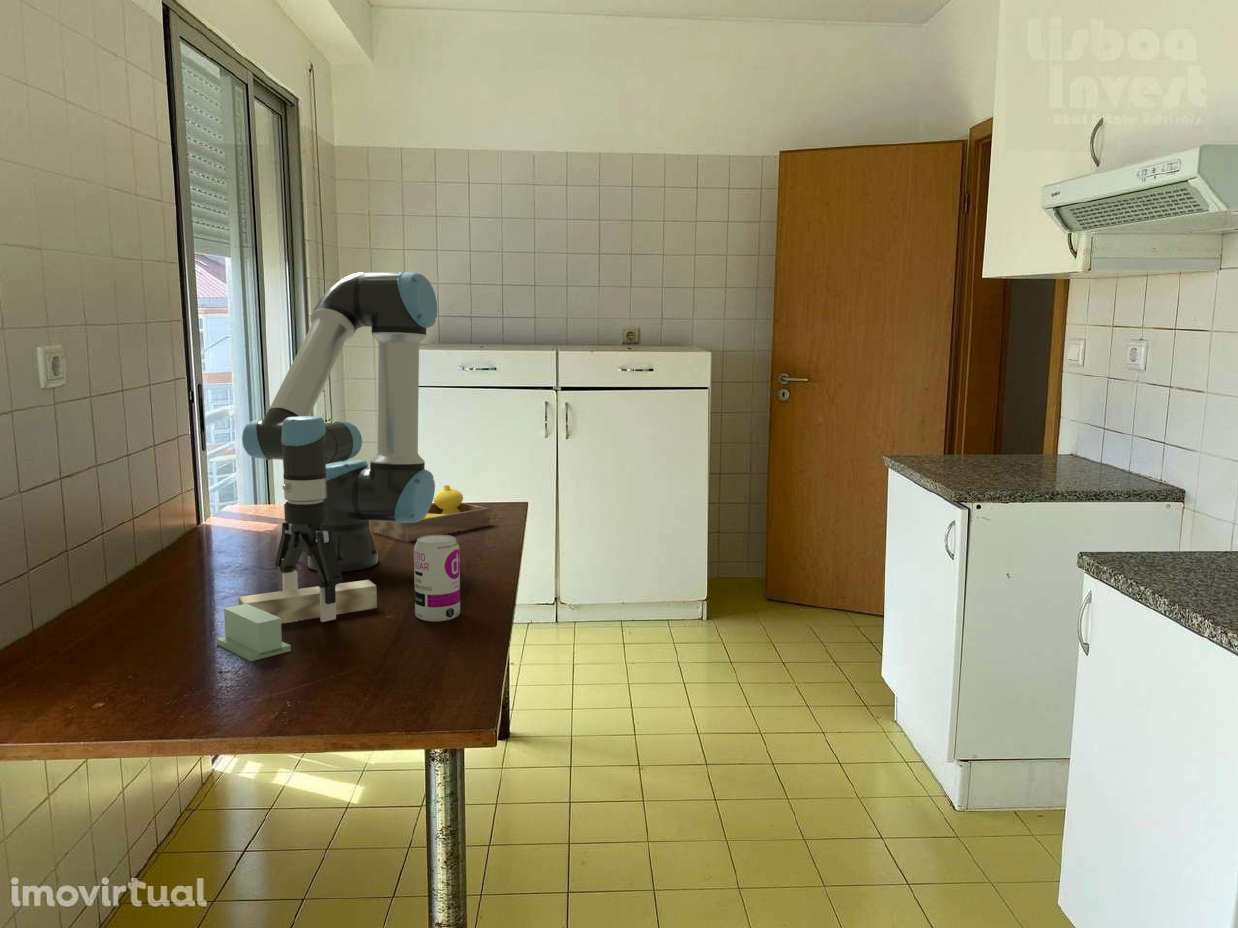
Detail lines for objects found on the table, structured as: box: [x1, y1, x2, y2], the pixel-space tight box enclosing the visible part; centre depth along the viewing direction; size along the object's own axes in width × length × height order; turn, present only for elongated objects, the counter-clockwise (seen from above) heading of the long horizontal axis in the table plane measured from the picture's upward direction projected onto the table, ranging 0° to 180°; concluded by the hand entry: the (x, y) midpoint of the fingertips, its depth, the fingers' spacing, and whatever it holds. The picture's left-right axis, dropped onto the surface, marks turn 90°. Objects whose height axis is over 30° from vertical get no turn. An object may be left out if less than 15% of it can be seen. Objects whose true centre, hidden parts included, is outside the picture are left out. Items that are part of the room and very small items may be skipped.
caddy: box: [370, 502, 491, 543], centre depth 252 cm, size 16×26×6 cm, turn 137°
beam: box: [238, 579, 378, 625], centre depth 180 cm, size 24×5×5 cm, turn 122°
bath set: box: [423, 484, 464, 519], centre depth 255 cm, size 20×10×11 cm, turn 145°
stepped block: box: [216, 604, 292, 662], centre depth 161 cm, size 12×7×6 cm, turn 47°
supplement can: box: [413, 534, 461, 622], centre depth 179 cm, size 8×8×15 cm
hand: (309, 612), depth 180 cm, fingers open, 13 cm apart
